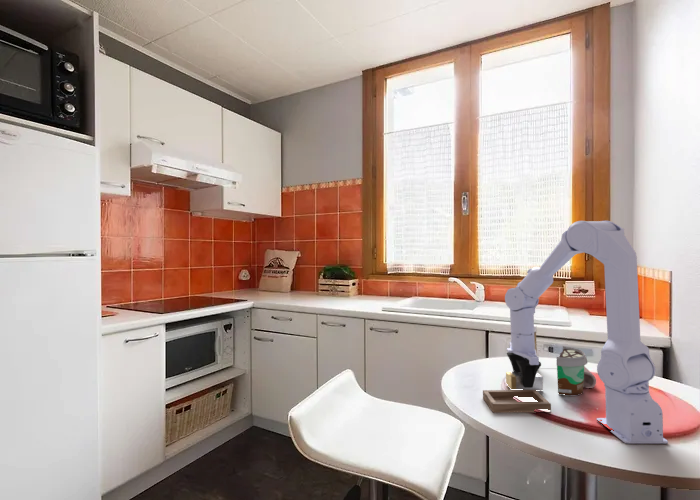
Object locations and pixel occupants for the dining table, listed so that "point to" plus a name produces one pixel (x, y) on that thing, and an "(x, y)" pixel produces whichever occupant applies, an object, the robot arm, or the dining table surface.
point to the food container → (571, 371)
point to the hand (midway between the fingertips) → (523, 383)
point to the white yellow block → (516, 381)
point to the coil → (588, 379)
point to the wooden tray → (514, 401)
